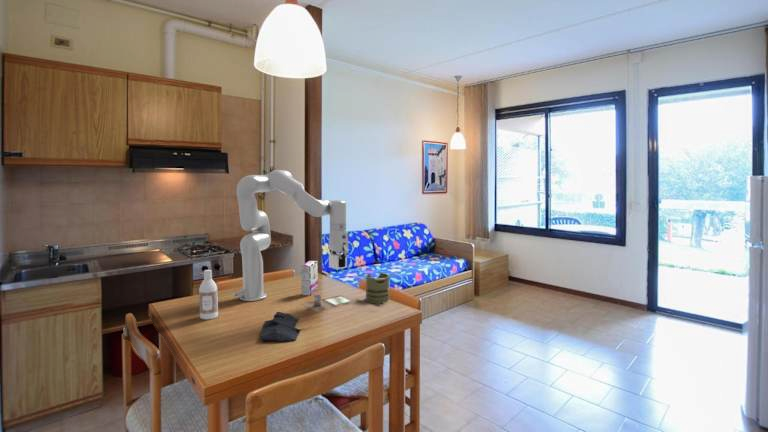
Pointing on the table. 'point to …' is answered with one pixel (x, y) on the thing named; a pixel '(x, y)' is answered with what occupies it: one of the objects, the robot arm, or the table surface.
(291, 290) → the table surface
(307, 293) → the candy bar box
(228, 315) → the table surface
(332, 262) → the white cube
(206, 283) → the bath foam
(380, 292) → the piston
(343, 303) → the post board
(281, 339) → the dark slate chunk
